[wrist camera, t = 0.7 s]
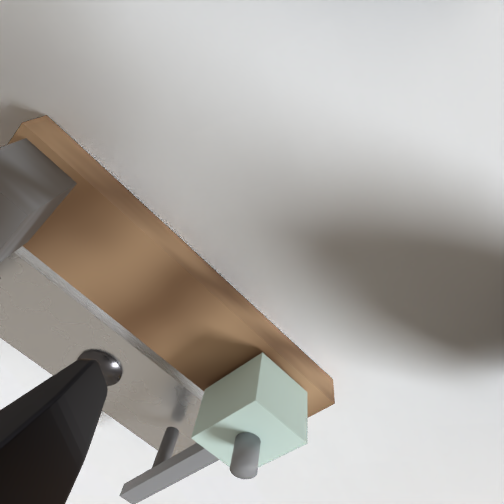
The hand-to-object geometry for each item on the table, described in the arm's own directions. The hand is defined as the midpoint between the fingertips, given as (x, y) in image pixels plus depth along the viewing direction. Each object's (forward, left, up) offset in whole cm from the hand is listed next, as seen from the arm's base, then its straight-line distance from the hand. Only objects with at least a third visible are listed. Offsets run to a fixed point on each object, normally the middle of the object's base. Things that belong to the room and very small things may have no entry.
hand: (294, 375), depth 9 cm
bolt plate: (0, +19, -14) cm, 23 cm away
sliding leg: (-8, +15, -12) cm, 21 cm away
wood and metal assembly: (0, +15, -14) cm, 20 cm away
